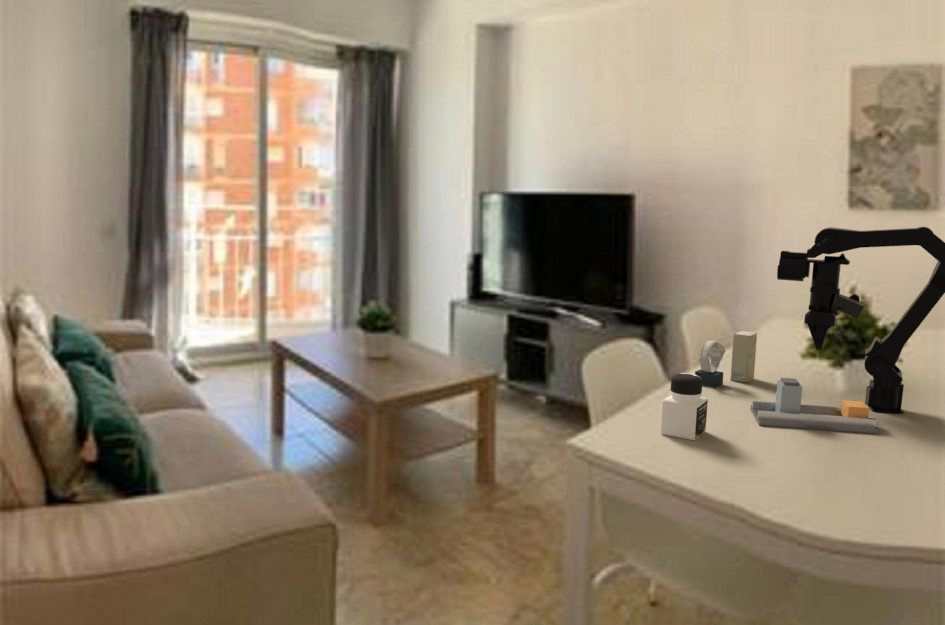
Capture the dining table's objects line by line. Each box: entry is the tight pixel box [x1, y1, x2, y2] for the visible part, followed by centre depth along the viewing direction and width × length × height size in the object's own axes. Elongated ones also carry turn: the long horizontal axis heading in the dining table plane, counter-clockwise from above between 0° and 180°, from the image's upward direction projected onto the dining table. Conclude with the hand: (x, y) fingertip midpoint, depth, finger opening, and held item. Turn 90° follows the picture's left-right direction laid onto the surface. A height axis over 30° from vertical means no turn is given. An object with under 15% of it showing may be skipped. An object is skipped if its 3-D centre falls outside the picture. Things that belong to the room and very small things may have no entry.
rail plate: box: [750, 400, 879, 435], centre depth 169 cm, size 23×12×2 cm, turn 79°
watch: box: [694, 339, 726, 389], centre depth 198 cm, size 6×8×11 cm
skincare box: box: [730, 330, 758, 383], centre depth 203 cm, size 6×4×12 cm
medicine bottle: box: [660, 372, 709, 441], centre depth 159 cm, size 7×7×12 cm
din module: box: [775, 377, 803, 413], centre depth 169 cm, size 4×5×8 cm
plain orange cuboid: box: [841, 399, 870, 418], centre depth 167 cm, size 4×5×3 cm
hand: (818, 349), depth 184 cm, fingers closed
